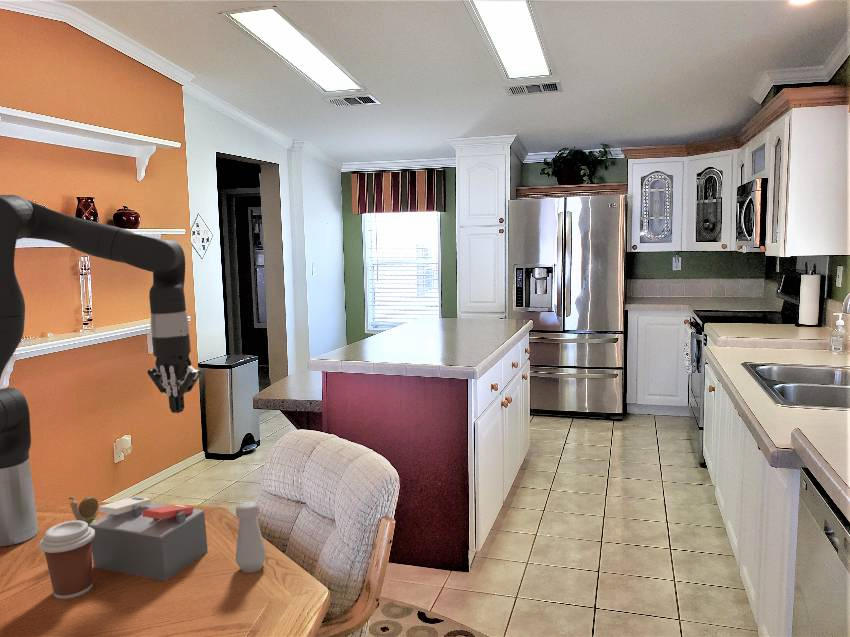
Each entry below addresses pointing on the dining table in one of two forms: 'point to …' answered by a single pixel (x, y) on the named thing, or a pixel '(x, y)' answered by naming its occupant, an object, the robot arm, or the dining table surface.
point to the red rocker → (166, 511)
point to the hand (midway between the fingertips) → (177, 412)
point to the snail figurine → (85, 509)
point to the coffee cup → (69, 558)
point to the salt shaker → (249, 539)
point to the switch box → (148, 542)
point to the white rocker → (124, 505)
